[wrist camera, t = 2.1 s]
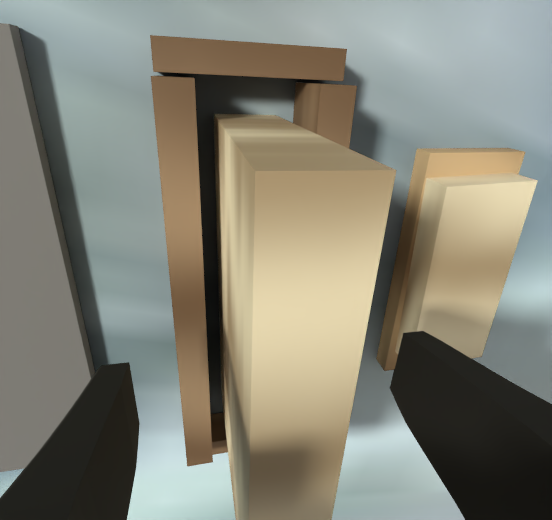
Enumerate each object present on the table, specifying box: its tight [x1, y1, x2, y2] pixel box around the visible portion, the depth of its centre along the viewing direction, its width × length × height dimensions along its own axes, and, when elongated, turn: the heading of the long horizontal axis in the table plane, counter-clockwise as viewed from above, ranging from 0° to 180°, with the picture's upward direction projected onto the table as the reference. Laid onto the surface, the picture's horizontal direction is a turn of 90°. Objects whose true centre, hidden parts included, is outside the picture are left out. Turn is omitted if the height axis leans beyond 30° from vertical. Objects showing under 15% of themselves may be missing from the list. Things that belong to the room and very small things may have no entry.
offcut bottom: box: [376, 148, 525, 371], centre depth 16 cm, size 10×4×2 cm, turn 178°
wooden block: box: [214, 114, 396, 520], centre depth 11 cm, size 12×2×8 cm, turn 177°
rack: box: [150, 35, 357, 466], centre depth 13 cm, size 16×5×2 cm, turn 177°
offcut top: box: [395, 173, 538, 358], centre depth 15 cm, size 8×4×1 cm, turn 0°
